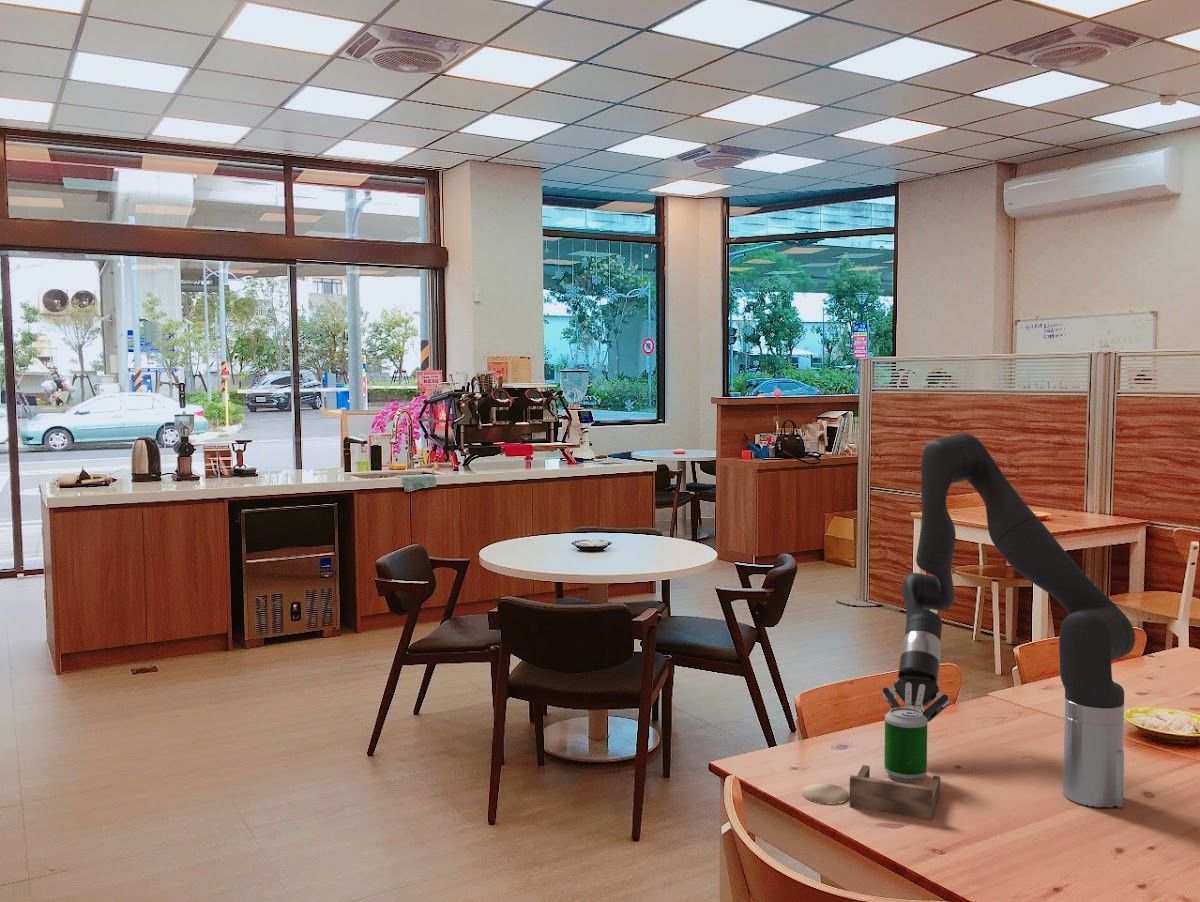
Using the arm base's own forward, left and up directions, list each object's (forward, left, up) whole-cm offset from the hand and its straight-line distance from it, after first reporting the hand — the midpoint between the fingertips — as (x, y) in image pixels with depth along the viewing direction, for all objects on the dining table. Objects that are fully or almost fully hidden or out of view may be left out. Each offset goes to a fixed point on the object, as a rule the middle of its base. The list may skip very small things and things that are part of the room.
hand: (910, 737), depth 189 cm
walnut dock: (0, +19, -5) cm, 20 cm away
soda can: (0, +7, -5) cm, 9 cm away
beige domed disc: (+11, +22, -5) cm, 25 cm away
